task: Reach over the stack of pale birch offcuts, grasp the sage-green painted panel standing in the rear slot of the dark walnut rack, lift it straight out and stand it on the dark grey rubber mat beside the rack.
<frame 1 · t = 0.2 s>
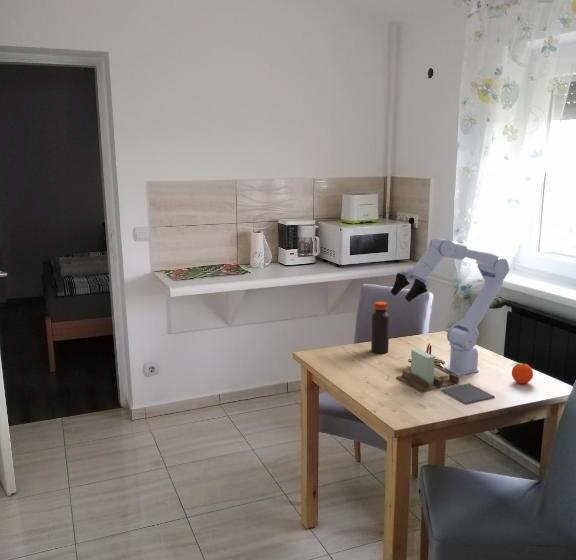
hand: (399, 296, 200), 31 cm above the table, tool tilted 45°, fingers open, 7 cm apart
offcut top: (436, 374, 210), point 2 cm above the table, touching offcut low
offcut low: (436, 377, 210), point 1 cm above the table, touching offcut top, rack
sage panel: (421, 380, 208), point 1 cm above the table, touching rack
bottle: (379, 351, 240), on the table
tomato: (519, 383, 207), on the table
mat: (467, 394, 197), on the table
rack: (427, 381, 209), on the table
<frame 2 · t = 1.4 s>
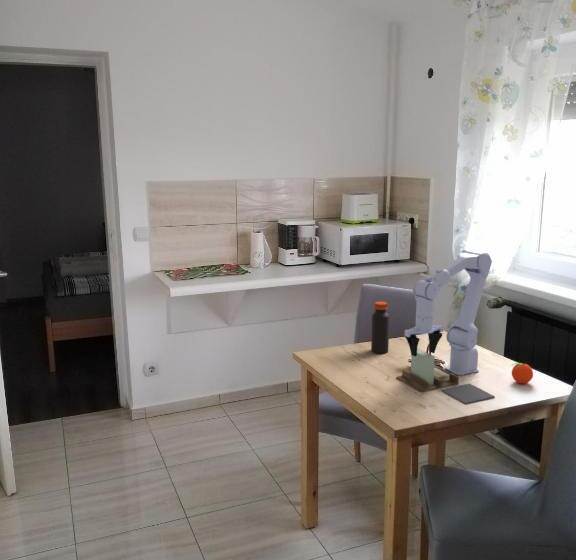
hand: (422, 353, 206), 10 cm above the table, tool pointing down, fingers open, 7 cm apart
nothing on the table moved.
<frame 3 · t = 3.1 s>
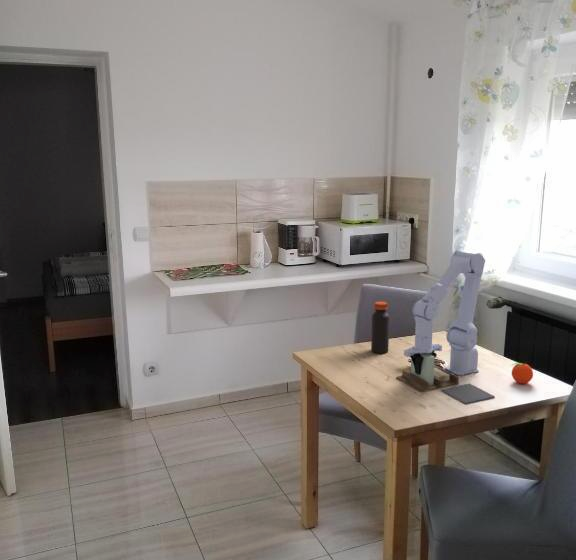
hand: (422, 372, 207), 3 cm above the table, tool pointing down, fingers closed on sage panel, 3 cm apart
sage panel: (421, 380, 208), point 1 cm above the table, touching gripper, rack
everything else where it was.
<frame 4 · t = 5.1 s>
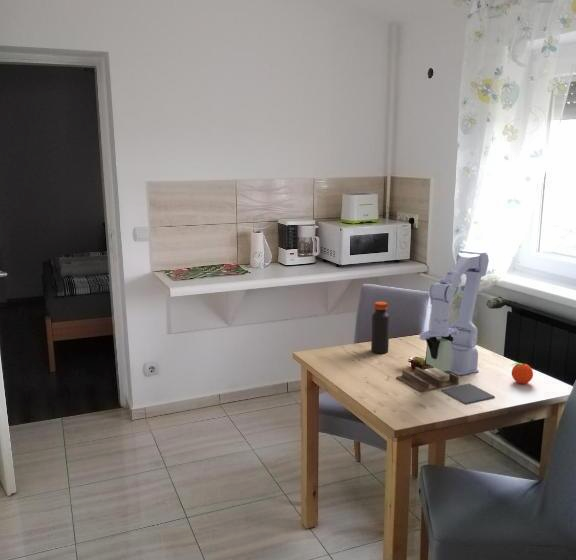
hand: (438, 357, 202), 10 cm above the table, tool pointing down, fingers closed on sage panel, 3 cm apart
sage panel: (437, 366, 203), point 7 cm above the table, touching gripper
everything else where it was.
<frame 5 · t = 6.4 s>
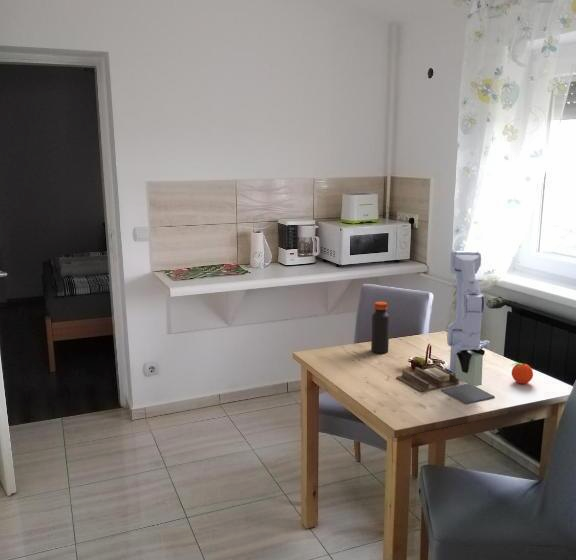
hand: (468, 371, 196), 8 cm above the table, tool pointing down, fingers closed on sage panel, 3 cm apart
sage panel: (468, 381, 196), point 5 cm above the table, touching gripper
everything else where it was.
when the fingers open (4 cm above the table, at t = 7.5 s): sage panel stays where it is, resting on mat.
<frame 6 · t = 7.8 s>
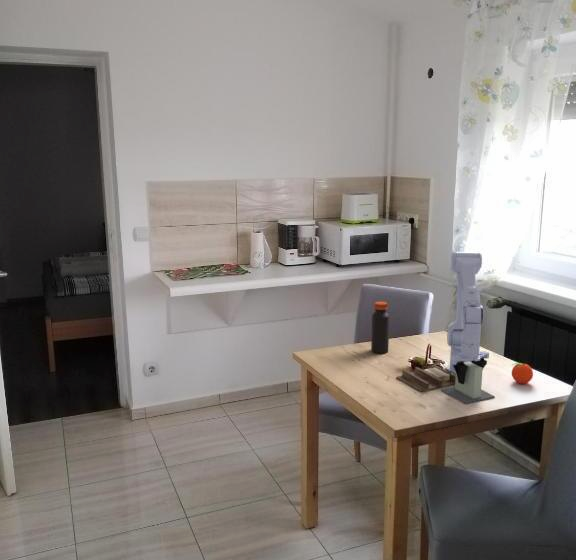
hand: (468, 381, 197), 4 cm above the table, tool pointing down, fingers open, 5 cm apart
sage panel: (467, 392, 197), resting on mat
everything else where it was.
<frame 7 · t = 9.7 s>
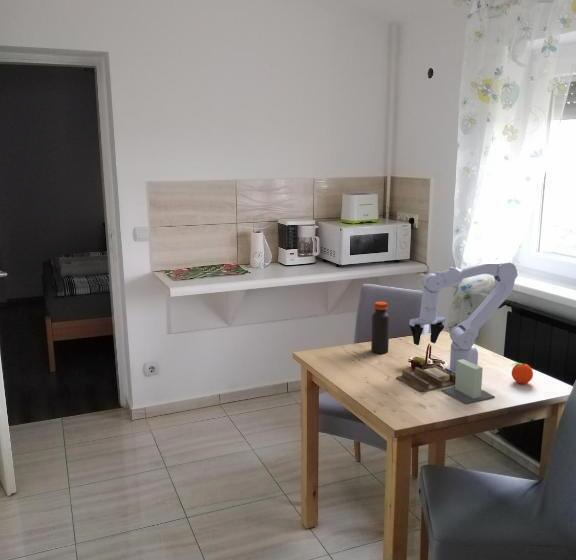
hand: (424, 343, 216), 11 cm above the table, tool pointing down, fingers open, 7 cm apart
nothing on the table moved.
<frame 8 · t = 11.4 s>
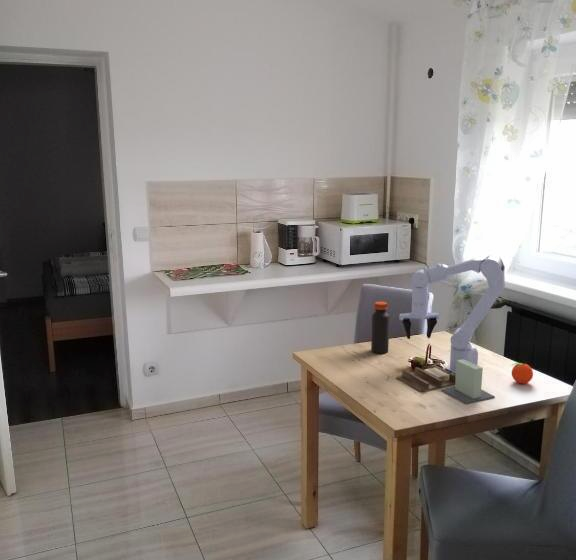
hand: (418, 337, 223), 10 cm above the table, tool pointing down, fingers open, 7 cm apart
nothing on the table moved.
at the end: sage panel inside the target area (0.0 cm from its centre), point 0.5 cm above the table; sage panel tilted 0°; offcut top moved 0.0 cm from its start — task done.
